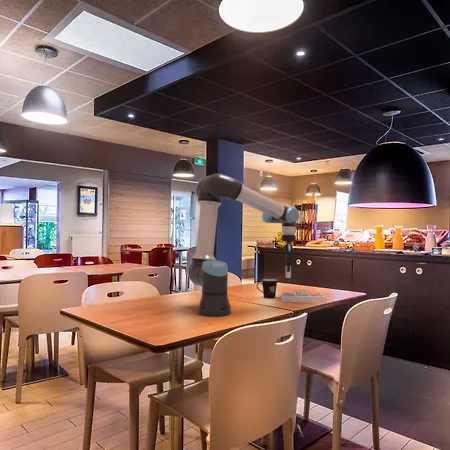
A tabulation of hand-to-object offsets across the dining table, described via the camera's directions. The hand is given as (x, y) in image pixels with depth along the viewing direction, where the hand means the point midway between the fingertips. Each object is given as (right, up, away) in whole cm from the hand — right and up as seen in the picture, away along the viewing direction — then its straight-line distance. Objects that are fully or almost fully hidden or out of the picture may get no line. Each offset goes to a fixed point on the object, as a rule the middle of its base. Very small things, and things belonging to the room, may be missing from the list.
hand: (288, 277), depth 212 cm
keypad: (+8, -12, -1) cm, 15 cm away
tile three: (+15, -12, -1) cm, 19 cm away
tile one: (0, -12, 0) cm, 12 cm away
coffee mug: (-11, -13, +8) cm, 18 cm away
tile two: (+8, -11, -1) cm, 13 cm away
